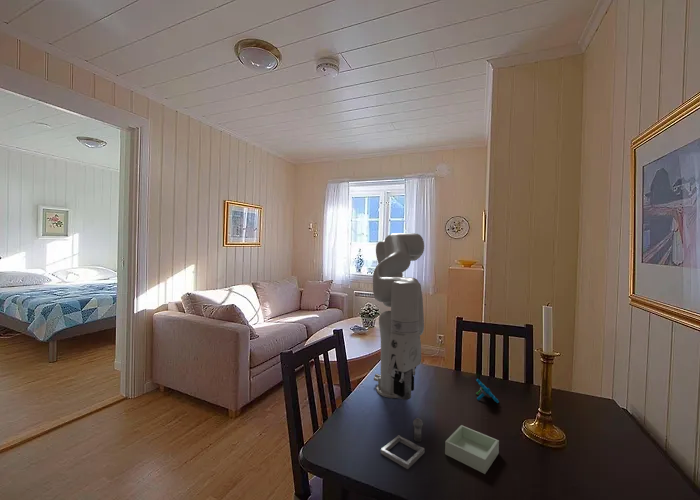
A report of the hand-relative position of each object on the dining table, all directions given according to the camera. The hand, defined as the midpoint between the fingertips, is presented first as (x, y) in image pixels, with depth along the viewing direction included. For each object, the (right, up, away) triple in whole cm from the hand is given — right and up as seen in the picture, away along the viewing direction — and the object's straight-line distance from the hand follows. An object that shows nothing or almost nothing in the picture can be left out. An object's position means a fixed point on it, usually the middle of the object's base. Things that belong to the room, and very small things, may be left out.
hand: (403, 391), depth 84 cm
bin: (+19, -17, 0) cm, 25 cm away
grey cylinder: (0, -1, 0) cm, 1 cm away
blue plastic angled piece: (+36, -17, +30) cm, 50 cm away
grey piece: (+1, -17, +2) cm, 17 cm away
